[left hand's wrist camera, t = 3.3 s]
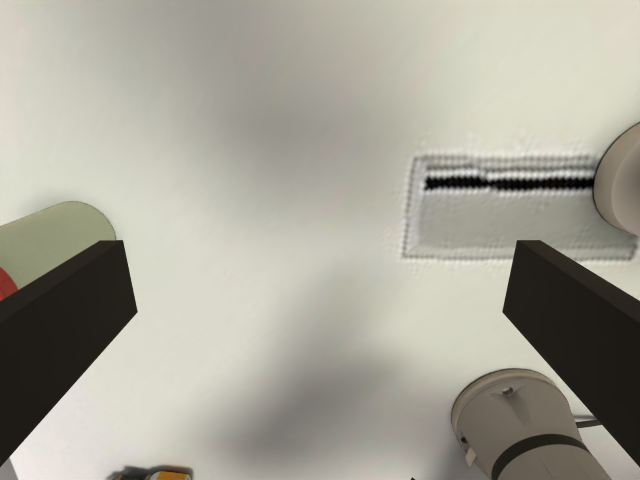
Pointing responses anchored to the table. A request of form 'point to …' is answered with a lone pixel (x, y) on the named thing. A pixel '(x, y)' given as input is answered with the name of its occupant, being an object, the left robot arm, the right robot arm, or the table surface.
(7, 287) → the lid
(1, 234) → the jar
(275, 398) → the table surface
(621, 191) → the bust sculpture
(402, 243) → the table surface
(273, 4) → the table surface
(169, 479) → the spray gun
